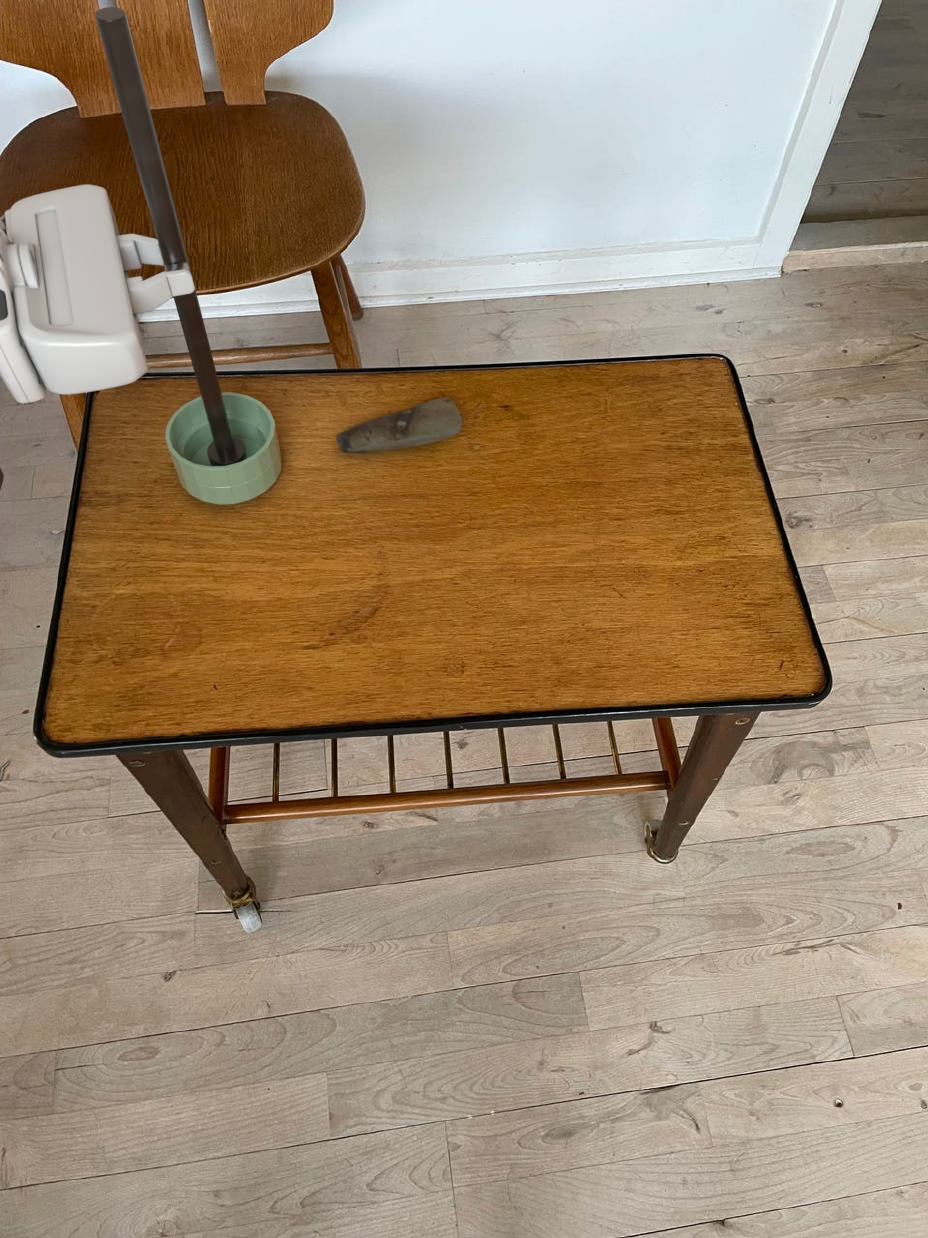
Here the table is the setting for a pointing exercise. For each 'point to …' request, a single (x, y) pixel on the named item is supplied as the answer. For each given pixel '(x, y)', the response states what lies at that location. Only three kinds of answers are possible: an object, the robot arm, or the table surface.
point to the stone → (404, 428)
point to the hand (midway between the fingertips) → (188, 264)
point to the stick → (165, 222)
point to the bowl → (233, 481)
